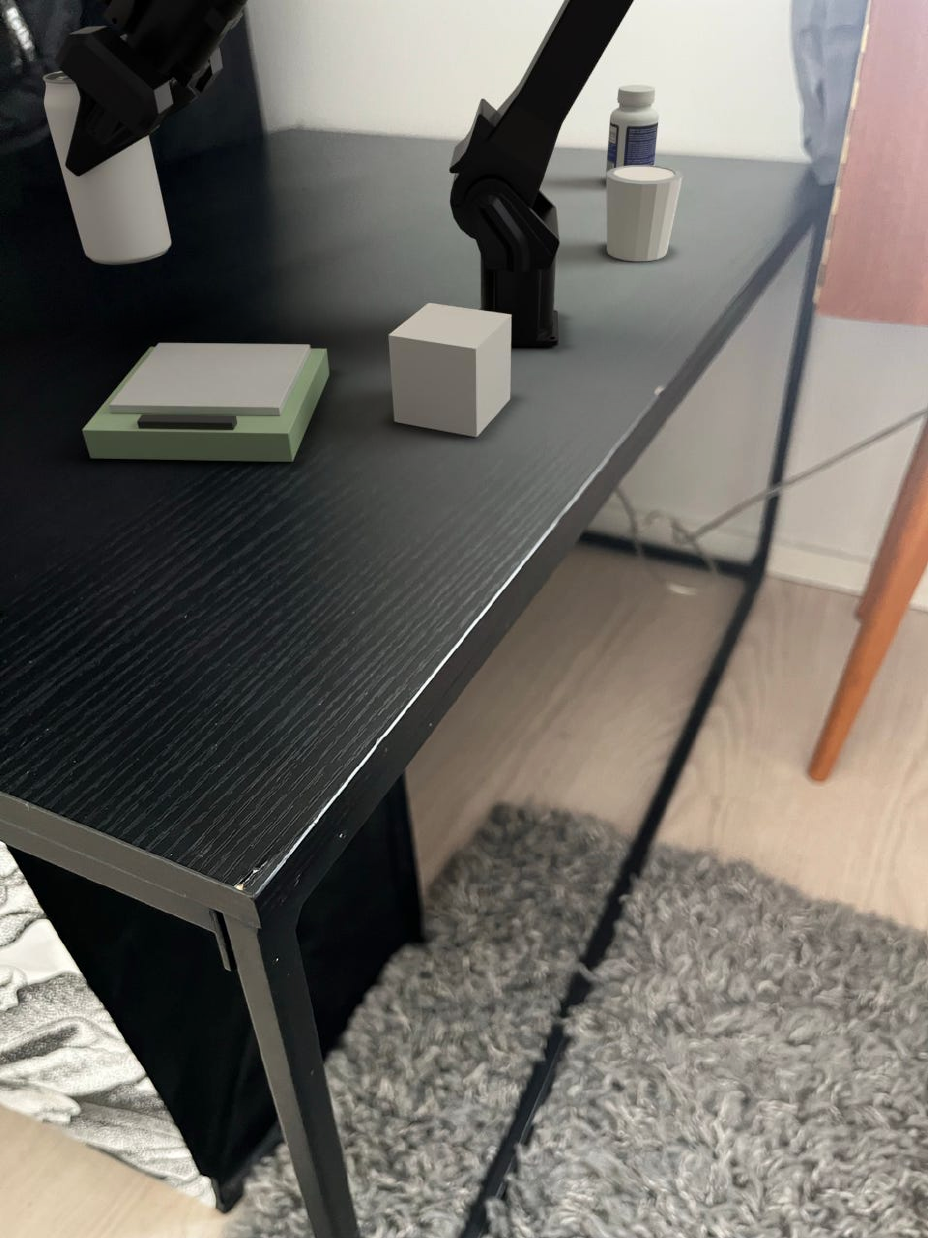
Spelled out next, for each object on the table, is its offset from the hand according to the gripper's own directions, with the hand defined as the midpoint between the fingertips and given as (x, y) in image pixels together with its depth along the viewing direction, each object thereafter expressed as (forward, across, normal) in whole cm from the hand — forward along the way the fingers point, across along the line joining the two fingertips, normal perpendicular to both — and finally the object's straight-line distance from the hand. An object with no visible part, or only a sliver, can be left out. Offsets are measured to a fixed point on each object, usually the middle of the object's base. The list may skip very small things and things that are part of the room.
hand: (88, 159), depth 68 cm
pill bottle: (-22, -44, +41) cm, 64 cm away
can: (+4, 0, +6) cm, 7 cm away
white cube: (-9, +14, +28) cm, 33 cm away
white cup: (-21, -19, +40) cm, 49 cm away
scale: (+2, +15, +16) cm, 22 cm away
